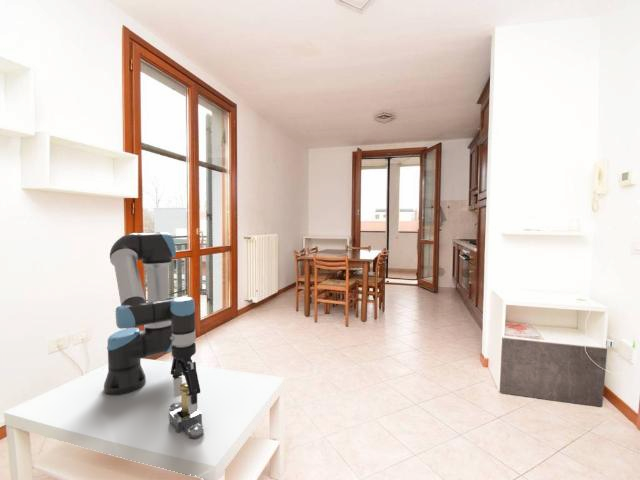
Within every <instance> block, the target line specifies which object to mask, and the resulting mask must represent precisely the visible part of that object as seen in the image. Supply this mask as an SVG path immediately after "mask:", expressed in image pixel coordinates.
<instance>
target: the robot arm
mask: <svg viewBox="0 0 640 480" xmlns="http://www.w3.org/2000/svg"><path fill="white" fill-rule="evenodd" d="M176 248H177V247H176V244H175V240H174V238H173V236H172V234H171V233H169V232H131V233H127V234H124V235H123V236H121V237H120V238H118V239H117V240H116V241H115V242H114V244H113V245H112V246H111V249H110V252H109V260H110V264H111V265H112V266H113V267H114V271H115V272H114V273H115V277H116V283H117V289H118V296H119V302H120V306H117V307H116V309H115V323H116V324H115V325H116V327H117V328H118V329H119V330H118V331H116V332H114V333H112V334H111V335H109V337H108V338H107V347H106V349H107V365H108V366H107V367H108V369H107V370H108V371H107V375H106V378H105V381H104V383H103V391H104V393H105V394H107V395H109V396H118V395H125V394H128V393H131V392H134V391H137V390H139V389H140V388H142V387H143V386H144V385H145V384H146V381H147V380H146V377H147V376H146V374H145V372H144V369H143V367H142V364H141V359H144V358H149V357H153V356H158V355H162V354H166V353H170V352H171V356H172V358H173V359H172V364H171V370H170V375H171V376H172V381H173V397H174V398H177V397H181V392H182V391H181V390H180V385H181V384H183V377H184V379H185V383H187V386H188V390H189V394H188V395H187V396H188V410H189V414H191V413H194V412H196V411H198V410H199V409H198V408H199V407H198V394H201V387H200V383H199V377H198V376H199V375H198V372H197V363H196V361H193V360H192V357H193V356H194V355H195V354H196V351H197V348H196V344H197V343H196V340H197V338H196V305H195V299H194V298H193V297H191V296H190V297H189V296H182V297H181V296H179V297H178V296H170V287H169V286H170V285H169V266H170V265H171V263H172V259H174V258H175V257H176V256H177V255H176V253H177V252H176ZM138 261H141V262H142V263H141V264H142V265H143V266H145V268H146V288H147V289H146V291H147V294H146V295H147V302H146V297H145V293H144V289H143V284H142V281H141V277H140V276H141V275H140V273H139V267H138V263H137V262H138ZM141 326H144V329H143V330H141V329H139V328H138V327H141ZM120 329H121V330H120ZM182 376H183V377H182Z"/></svg>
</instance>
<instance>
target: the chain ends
mask: <svg viewBox="0 0 640 480" xmlns="http://www.w3.org/2000/svg"><path fill="white" fill-rule="evenodd" d="M168 414H169V417H168V418H169V423H170V425H171V426H172V427H173V428H174V430H175V431H176V433H177V434H179V433H182V432H184V434H185V435H186V436H187V437H188V438H189V439H190V440H197V439H200V438H201V437H202V436H203V434H204V433H205V432H204V427H203V425H201V424H202V423H203V418H202V417H203V416H202V411H200V409H198V411H196V412H194V413H191V415H188V416H186V417H183V418H181V402H180V401H178V402H174V403H172V404H171V405H170V406H169V413H168Z"/></svg>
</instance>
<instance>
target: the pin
mask: <svg viewBox="0 0 640 480" xmlns="http://www.w3.org/2000/svg"><path fill="white" fill-rule="evenodd" d="M180 390H181V391H182V392H181V395H180V397H181V402H180V403H181V418H183V417H186V416H188V415H191V414H189V410H188V396H187V395H188V394H189V390H188V386H187V383H186V382H184V383H183V382H182V384H181V385H180Z"/></svg>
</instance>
